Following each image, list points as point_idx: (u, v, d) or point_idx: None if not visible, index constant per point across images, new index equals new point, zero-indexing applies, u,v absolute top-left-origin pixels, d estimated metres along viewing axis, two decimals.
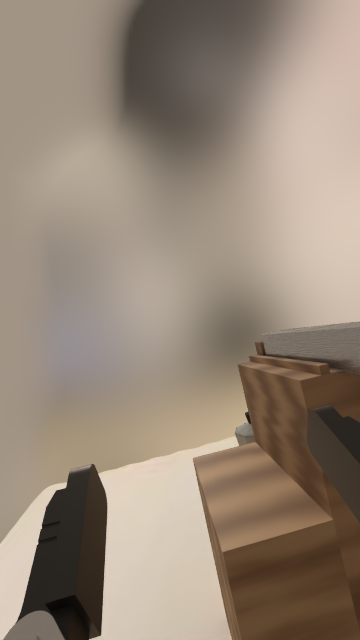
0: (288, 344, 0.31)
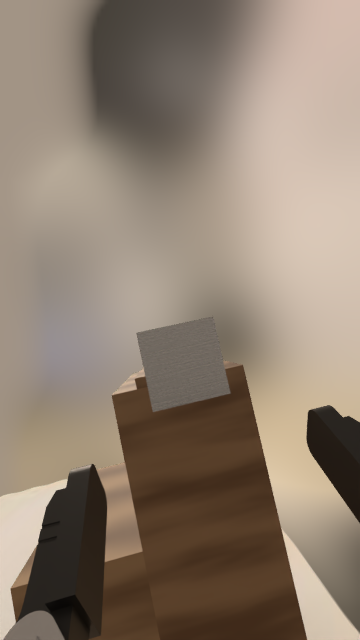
0: None
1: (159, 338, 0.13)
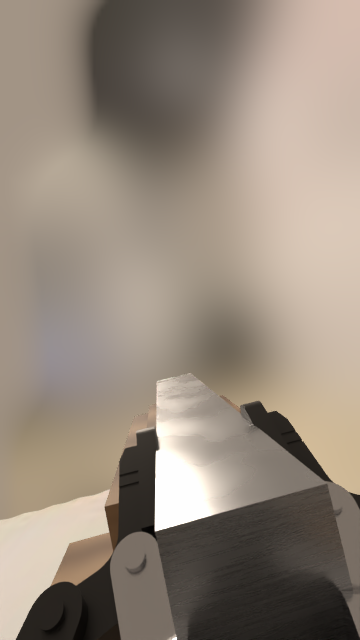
0: None
1: (207, 541, 0.06)
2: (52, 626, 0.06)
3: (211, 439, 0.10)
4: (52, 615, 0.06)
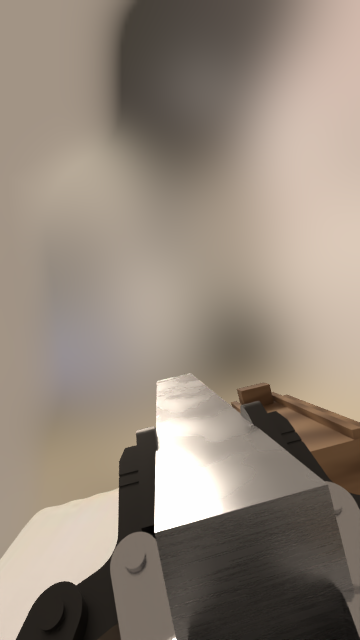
0: None
1: (207, 543, 0.06)
2: (52, 626, 0.06)
3: (211, 440, 0.10)
4: (52, 616, 0.06)
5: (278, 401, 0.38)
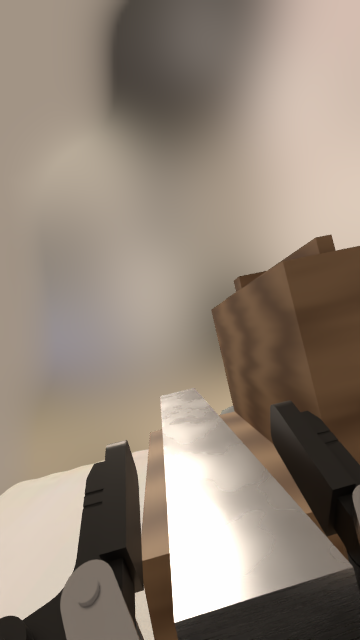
0: None
1: (228, 632, 0.05)
2: None
3: (223, 488, 0.09)
4: None
5: None
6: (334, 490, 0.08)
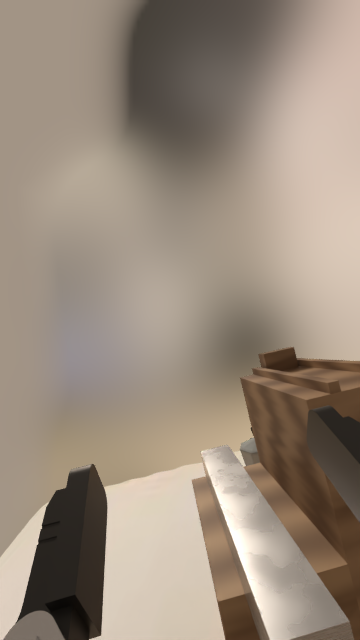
0: (212, 490, 0.29)
1: None
2: None
3: (277, 564, 0.16)
4: None
5: (304, 364, 0.36)
6: None
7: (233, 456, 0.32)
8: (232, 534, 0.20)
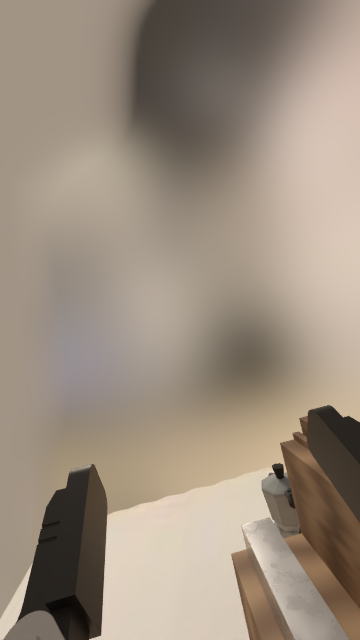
0: (267, 589, 0.27)
1: None
2: None
3: None
4: None
5: None
6: None
7: (282, 540, 0.31)
8: None
